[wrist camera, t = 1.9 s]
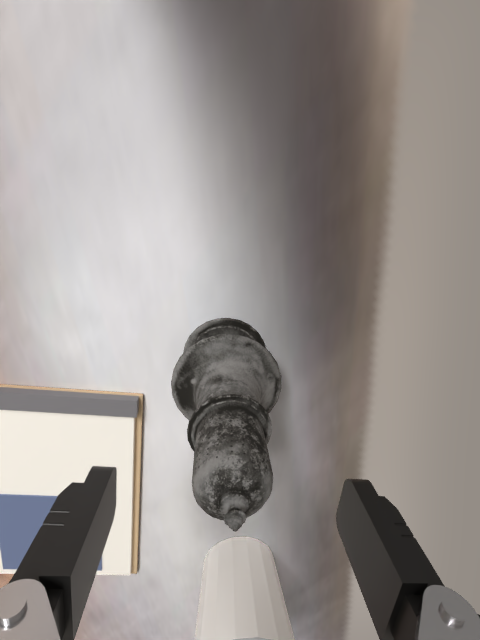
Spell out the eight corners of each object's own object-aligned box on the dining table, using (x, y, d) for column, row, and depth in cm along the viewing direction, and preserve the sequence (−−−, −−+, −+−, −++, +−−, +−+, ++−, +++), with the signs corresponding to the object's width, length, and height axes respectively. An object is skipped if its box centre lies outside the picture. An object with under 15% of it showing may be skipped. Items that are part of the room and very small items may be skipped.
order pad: (-58, 380, 21) (-70, 388, 20) (143, 393, 22) (140, 401, 21) (-25, 567, 26) (-33, 579, 25) (137, 569, 27) (134, 581, 26)
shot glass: (269, 593, 29) (285, 709, 22) (189, 588, 28) (181, 707, 21) (289, 534, 27) (314, 642, 20) (203, 526, 26) (200, 637, 19)
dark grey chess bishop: (289, 361, 22) (369, 532, 10) (219, 413, 23) (223, 622, 11) (231, 293, 20) (251, 410, 9) (158, 353, 21) (91, 528, 10)
